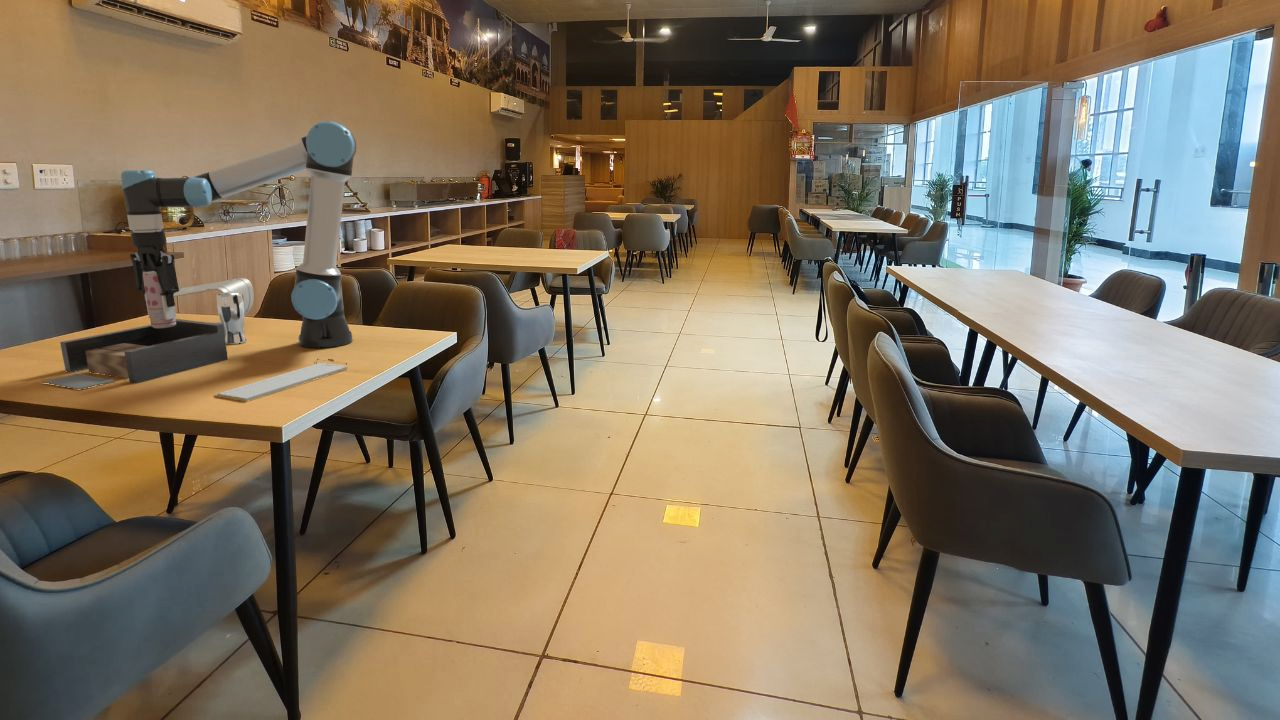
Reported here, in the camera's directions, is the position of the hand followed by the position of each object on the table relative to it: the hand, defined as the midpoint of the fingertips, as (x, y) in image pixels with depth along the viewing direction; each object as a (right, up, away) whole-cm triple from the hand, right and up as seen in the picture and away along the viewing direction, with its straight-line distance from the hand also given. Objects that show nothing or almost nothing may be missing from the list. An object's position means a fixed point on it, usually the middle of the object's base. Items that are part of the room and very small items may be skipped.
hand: (162, 317), depth 196 cm
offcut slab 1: (-5, -14, -7) cm, 17 cm away
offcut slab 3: (-3, -14, -4) cm, 15 cm away
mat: (-9, -17, -18) cm, 26 cm away
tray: (-2, -13, -1) cm, 13 cm away
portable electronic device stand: (-13, -2, +42) cm, 44 cm away
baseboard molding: (+40, -18, -14) cm, 46 cm away
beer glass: (+5, -6, +26) cm, 27 cm away
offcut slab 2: (-6, -15, -10) cm, 19 cm away
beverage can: (0, -2, +1) cm, 3 cm away
